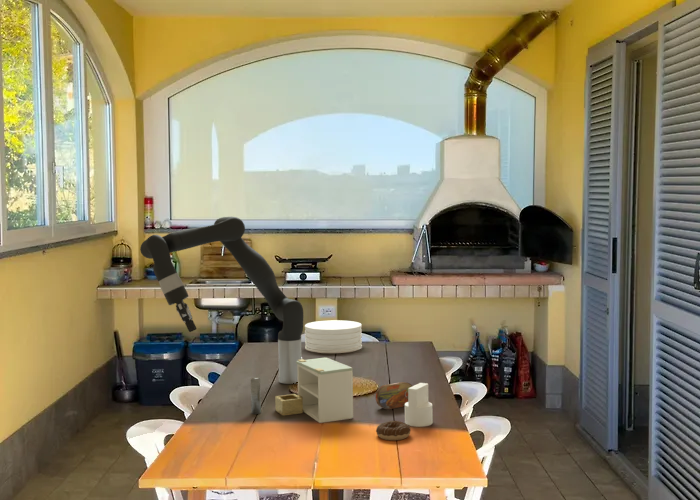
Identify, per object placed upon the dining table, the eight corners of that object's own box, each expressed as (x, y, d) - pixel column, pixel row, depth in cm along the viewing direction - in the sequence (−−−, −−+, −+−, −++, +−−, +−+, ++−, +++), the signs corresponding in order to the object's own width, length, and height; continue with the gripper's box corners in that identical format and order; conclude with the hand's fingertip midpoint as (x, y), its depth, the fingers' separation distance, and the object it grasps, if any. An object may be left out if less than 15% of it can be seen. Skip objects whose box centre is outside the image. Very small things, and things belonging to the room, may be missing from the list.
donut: (415, 440, 228) (415, 427, 228) (382, 443, 225) (382, 430, 225) (403, 430, 238) (403, 417, 238) (371, 433, 235) (371, 420, 235)
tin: (378, 411, 260) (378, 386, 259) (374, 408, 263) (374, 384, 262) (415, 405, 267) (415, 381, 266) (411, 403, 270) (410, 379, 269)
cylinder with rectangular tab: (424, 428, 240) (424, 390, 239) (399, 424, 244) (399, 387, 244) (437, 420, 247) (436, 384, 246) (412, 417, 252) (412, 381, 251)
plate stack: (303, 343, 386) (303, 321, 385) (358, 341, 389) (358, 319, 388) (306, 354, 358) (306, 330, 357) (365, 352, 361) (365, 328, 360)
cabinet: (330, 403, 270) (329, 356, 269) (354, 418, 251) (353, 367, 250) (296, 408, 264) (295, 359, 263) (318, 423, 246) (317, 371, 245)
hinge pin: (259, 411, 261) (258, 376, 261) (262, 413, 259) (261, 378, 258) (250, 412, 260) (249, 377, 259) (253, 414, 257) (252, 379, 256)
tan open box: (297, 407, 265) (297, 393, 265) (304, 412, 259) (304, 398, 258) (275, 410, 262) (275, 396, 262) (282, 415, 255) (282, 401, 255)
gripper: (181, 283, 259) (202, 326, 259) (184, 285, 273) (204, 325, 273) (161, 293, 258) (181, 336, 258) (165, 294, 272) (184, 334, 272)
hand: (193, 330), depth 265 cm, fingers open, 8 cm apart
